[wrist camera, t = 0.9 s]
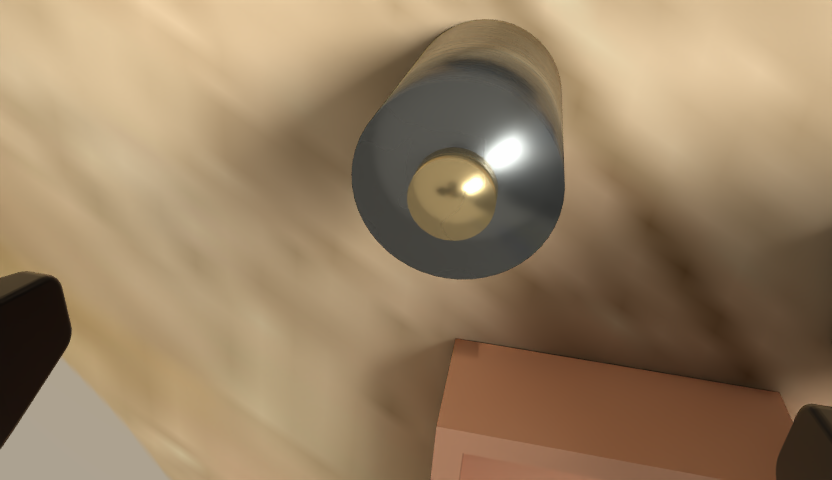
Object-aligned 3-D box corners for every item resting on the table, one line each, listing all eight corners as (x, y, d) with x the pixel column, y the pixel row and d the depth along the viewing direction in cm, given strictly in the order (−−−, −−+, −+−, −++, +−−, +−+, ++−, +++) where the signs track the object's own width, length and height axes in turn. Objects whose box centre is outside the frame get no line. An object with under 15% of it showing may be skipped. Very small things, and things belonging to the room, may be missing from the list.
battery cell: (574, 28, 16) (585, 106, 11) (548, 176, 18) (544, 310, 12) (415, 11, 17) (344, 77, 11) (406, 157, 19) (341, 278, 13)
